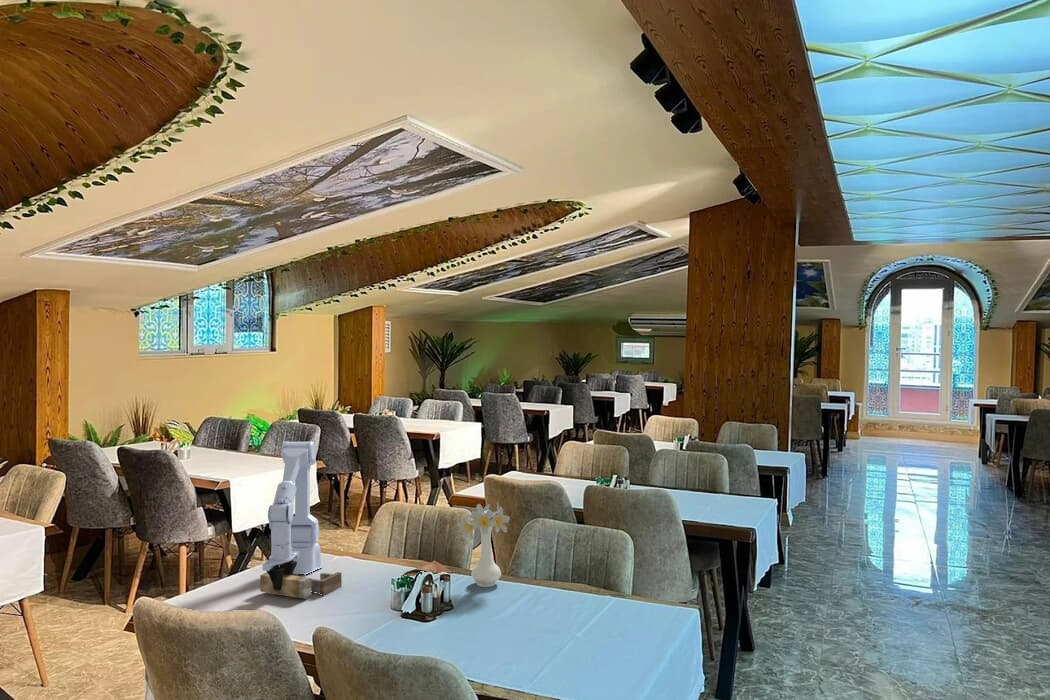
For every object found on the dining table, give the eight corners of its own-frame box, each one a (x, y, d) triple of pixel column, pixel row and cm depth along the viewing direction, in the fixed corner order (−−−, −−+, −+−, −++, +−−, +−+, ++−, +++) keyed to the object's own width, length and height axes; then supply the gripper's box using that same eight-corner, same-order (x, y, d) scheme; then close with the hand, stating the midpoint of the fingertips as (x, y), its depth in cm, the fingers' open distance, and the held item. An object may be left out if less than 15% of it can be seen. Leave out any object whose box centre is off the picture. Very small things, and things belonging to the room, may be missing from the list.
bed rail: (260, 591, 246) (260, 575, 245) (268, 587, 249) (268, 571, 249) (304, 598, 240) (303, 581, 239) (311, 594, 243) (311, 578, 243)
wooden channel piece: (306, 593, 247) (306, 578, 247) (324, 584, 255) (324, 570, 255) (324, 596, 244) (323, 581, 244) (341, 587, 253) (341, 572, 253)
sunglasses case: (422, 587, 252) (413, 567, 253) (407, 595, 255) (398, 576, 256) (454, 572, 268) (446, 553, 269) (439, 580, 271) (431, 561, 272)
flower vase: (452, 590, 250) (451, 509, 249) (484, 573, 266) (484, 498, 265) (487, 597, 243) (487, 514, 242) (518, 580, 259) (518, 502, 258)
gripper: (286, 535, 252) (286, 578, 253) (254, 548, 239) (254, 593, 240) (304, 538, 250) (305, 581, 250) (273, 550, 236) (274, 596, 237)
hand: (281, 587), depth 245 cm, fingers closed on bed rail, 3 cm apart
